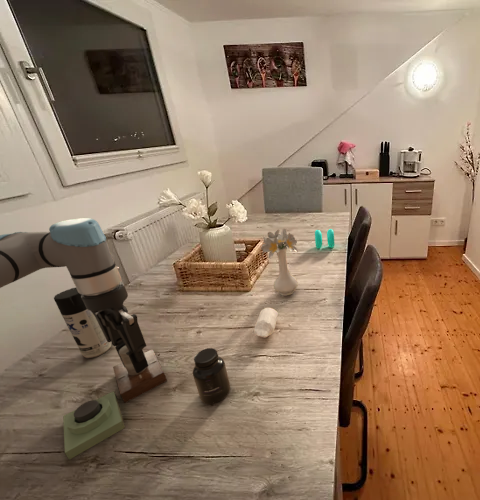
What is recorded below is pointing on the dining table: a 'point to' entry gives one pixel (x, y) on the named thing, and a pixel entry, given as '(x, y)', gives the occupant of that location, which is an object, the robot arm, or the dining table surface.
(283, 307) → the dining table surface
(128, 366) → the dial knob
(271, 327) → the roll
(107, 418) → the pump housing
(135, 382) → the dial panel
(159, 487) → the dining table surface
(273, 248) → the flower vase
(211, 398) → the supplement bottle
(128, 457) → the dining table surface
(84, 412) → the button
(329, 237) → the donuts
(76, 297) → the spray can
